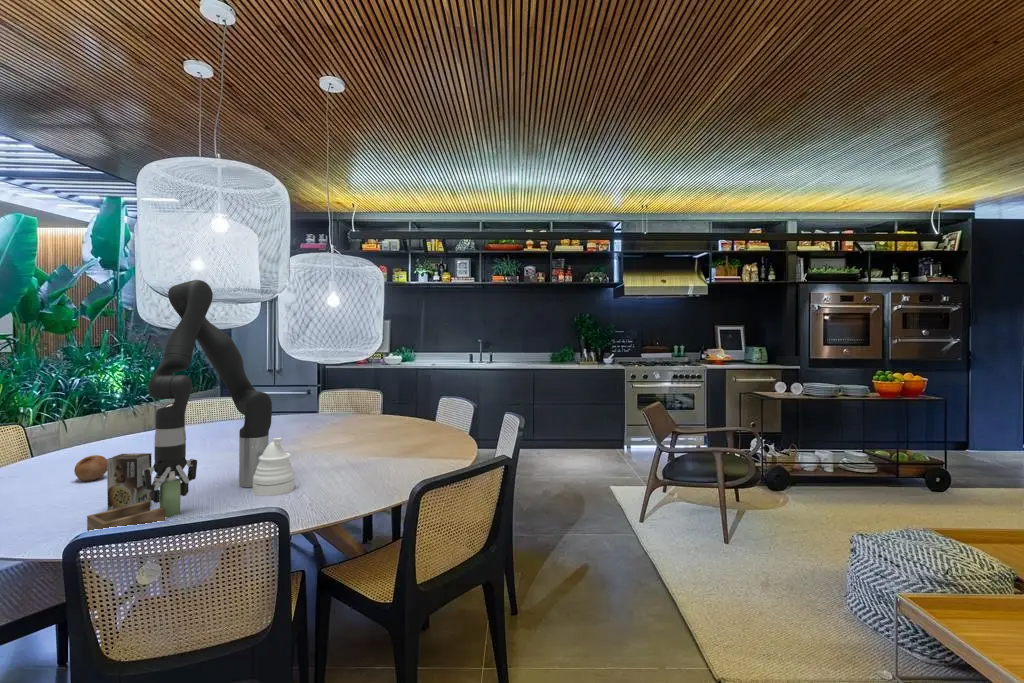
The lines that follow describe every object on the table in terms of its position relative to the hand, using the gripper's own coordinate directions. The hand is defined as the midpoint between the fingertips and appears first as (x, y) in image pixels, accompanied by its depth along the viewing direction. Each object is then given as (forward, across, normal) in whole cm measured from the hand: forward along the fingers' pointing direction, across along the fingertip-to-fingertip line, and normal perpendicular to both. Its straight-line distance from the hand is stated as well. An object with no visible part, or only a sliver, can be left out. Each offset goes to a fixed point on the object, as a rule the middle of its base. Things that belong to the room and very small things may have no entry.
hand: (170, 498), depth 141 cm
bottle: (+5, 0, 0) cm, 5 cm away
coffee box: (+5, +4, -16) cm, 17 cm away
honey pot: (+5, -30, +4) cm, 31 cm away
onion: (+5, -1, -61) cm, 61 cm away
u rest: (+5, +10, 0) cm, 11 cm away
